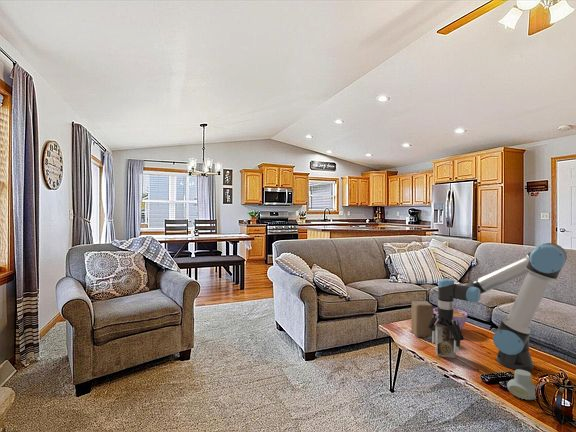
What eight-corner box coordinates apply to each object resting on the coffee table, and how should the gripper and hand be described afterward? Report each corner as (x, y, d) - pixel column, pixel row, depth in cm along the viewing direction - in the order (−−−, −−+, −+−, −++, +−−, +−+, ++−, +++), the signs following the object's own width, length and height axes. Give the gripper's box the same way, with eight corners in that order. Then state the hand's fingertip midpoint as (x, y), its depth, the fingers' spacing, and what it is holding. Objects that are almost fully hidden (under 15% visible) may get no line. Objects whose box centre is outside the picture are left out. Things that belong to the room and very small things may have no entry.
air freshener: (503, 393, 139) (504, 369, 139) (512, 387, 143) (512, 364, 143) (534, 406, 130) (534, 381, 130) (542, 399, 134) (542, 375, 134)
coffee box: (453, 353, 177) (453, 323, 177) (455, 358, 171) (456, 327, 171) (434, 351, 180) (435, 322, 179) (436, 356, 174) (437, 326, 173)
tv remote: (455, 347, 186) (455, 343, 186) (452, 349, 183) (452, 345, 183) (427, 339, 198) (427, 335, 198) (424, 341, 195) (424, 337, 195)
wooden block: (433, 337, 199) (433, 305, 198) (416, 337, 199) (416, 305, 198) (426, 331, 209) (426, 300, 208) (410, 331, 209) (411, 300, 208)
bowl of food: (426, 325, 219) (426, 308, 219) (450, 322, 225) (450, 306, 225) (449, 336, 200) (449, 318, 200) (474, 333, 206) (475, 314, 206)
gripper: (472, 313, 165) (471, 355, 166) (431, 301, 188) (430, 337, 188) (462, 315, 162) (461, 358, 163) (421, 302, 185) (421, 339, 185)
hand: (444, 347), depth 175 cm, fingers open, 13 cm apart
